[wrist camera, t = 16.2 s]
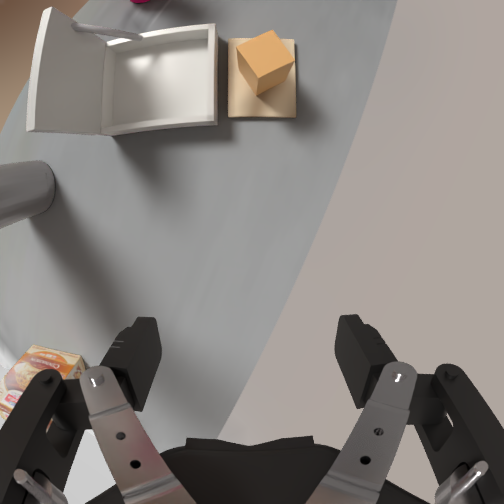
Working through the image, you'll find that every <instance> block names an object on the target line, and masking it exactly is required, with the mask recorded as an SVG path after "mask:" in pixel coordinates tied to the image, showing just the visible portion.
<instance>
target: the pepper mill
mask: <svg viewBox="0 0 504 504" xmlns="http://www.w3.org/2000/svg"><path fill="white" fill-rule="evenodd" d="M130 1H132V2H134V3H144V2H147V1H150V0H130Z"/></svg>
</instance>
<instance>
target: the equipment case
mask: <svg viewBox="0 0 504 504" xmlns="http://www.w3.org/2000/svg"><path fill="white" fill-rule="evenodd" d="M93 33H95V34H102V35H108V36H114V37H119V38H120V39H116V40H112V41H109V42H105V41H103V40H102V39H101V38H99V37H98V36H96V35H95V34H93ZM209 125H218V33H217V29H216V25H215V24H202V25H192V26H184V27H176V28H170V29H163V30H158V31H152V32H147V33H142V34H134V33H130V32H125V31H121V30H116V29H111V28H105V27H99V26H93V25H86V24H79V23H77V22H76V21H74V20H73V19H71V18H69V17H68V16H66V15H65V14H63V13H62V12H60V11H59V10H57V9H55V8H54V7H50V8H48V9H46V10H44V11H43V15H42V18H41V22H40V26H39V31H38V35H37V40H36V45H35V50H34V55H33V61H32V68H31V75H30V83H29V92H28V104H27V123H26V132H47V133H68V134H82V135H105V136H115V135H121V134H128V133H135V132H143V131H151V130H159V129H169V128H180V127H193V126H209Z"/></svg>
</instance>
